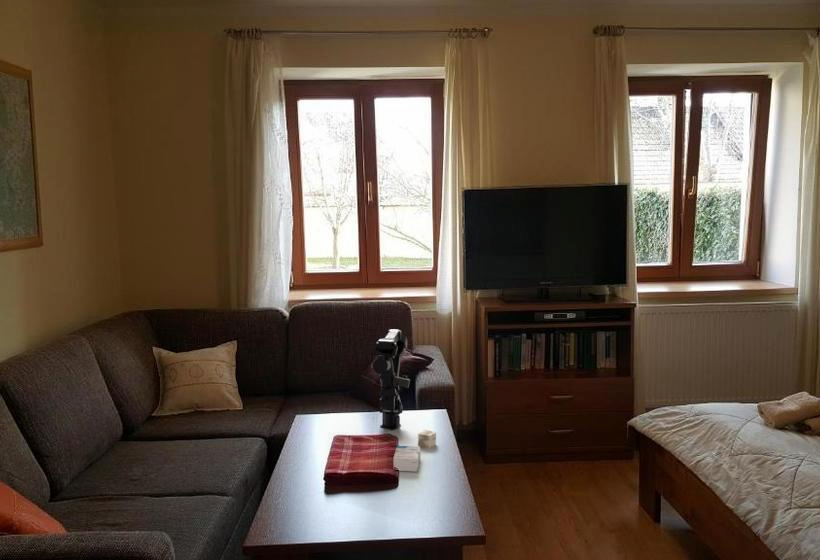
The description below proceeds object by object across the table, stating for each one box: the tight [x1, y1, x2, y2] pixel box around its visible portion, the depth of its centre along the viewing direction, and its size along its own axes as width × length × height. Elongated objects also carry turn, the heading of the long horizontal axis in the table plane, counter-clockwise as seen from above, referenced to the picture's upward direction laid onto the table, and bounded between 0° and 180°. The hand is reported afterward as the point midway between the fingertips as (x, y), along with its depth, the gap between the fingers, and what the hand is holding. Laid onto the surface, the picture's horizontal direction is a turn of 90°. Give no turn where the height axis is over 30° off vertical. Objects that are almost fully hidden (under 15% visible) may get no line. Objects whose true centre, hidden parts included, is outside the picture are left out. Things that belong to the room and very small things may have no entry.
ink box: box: [392, 445, 422, 473], centre depth 222 cm, size 9×5×12 cm
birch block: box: [417, 429, 437, 449], centre depth 241 cm, size 5×5×5 cm
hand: (392, 412), depth 243 cm, fingers closed
